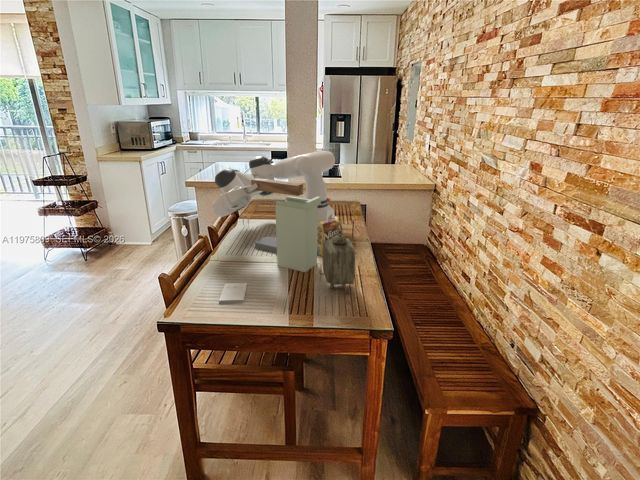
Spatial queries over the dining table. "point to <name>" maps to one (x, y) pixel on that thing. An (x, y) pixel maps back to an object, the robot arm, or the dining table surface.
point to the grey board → (267, 244)
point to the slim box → (278, 186)
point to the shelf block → (297, 232)
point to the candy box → (326, 232)
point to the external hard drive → (233, 293)
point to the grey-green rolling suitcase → (339, 260)
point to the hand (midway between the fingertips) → (261, 183)
